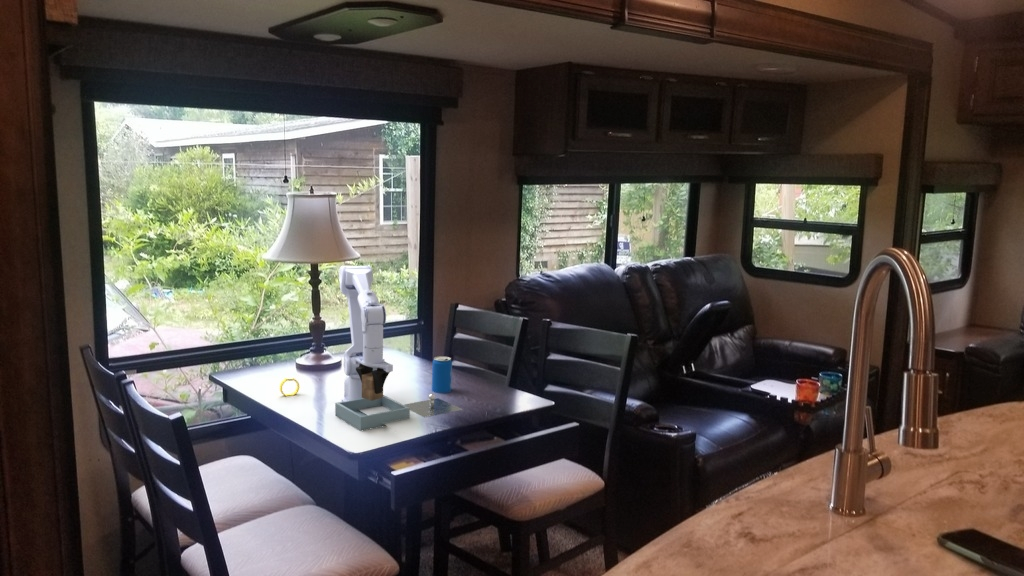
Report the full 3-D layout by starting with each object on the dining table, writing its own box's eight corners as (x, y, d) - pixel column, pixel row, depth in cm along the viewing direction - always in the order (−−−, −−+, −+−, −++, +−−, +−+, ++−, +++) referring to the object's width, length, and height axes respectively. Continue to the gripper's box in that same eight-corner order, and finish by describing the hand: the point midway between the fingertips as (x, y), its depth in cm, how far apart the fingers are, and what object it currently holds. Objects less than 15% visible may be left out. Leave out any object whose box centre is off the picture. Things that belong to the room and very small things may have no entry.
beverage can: (447, 396, 244) (448, 361, 242) (429, 394, 245) (430, 359, 243) (453, 391, 250) (454, 357, 248) (435, 389, 251) (436, 355, 250)
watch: (296, 393, 242) (298, 376, 241) (299, 396, 239) (300, 378, 239) (278, 394, 238) (279, 376, 238) (280, 397, 236) (282, 378, 235)
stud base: (400, 408, 230) (400, 391, 229) (438, 401, 238) (438, 385, 238) (424, 420, 219) (425, 403, 218) (463, 412, 228) (463, 396, 227)
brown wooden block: (361, 397, 218) (361, 374, 217) (372, 394, 221) (372, 371, 220) (372, 400, 215) (372, 377, 214) (383, 397, 219) (383, 374, 218)
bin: (335, 415, 220) (335, 402, 220) (382, 407, 230) (382, 394, 230) (360, 430, 208) (360, 417, 207) (409, 421, 218) (409, 408, 217)
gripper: (400, 348, 215) (399, 393, 217) (366, 340, 223) (365, 384, 225) (383, 352, 209) (382, 398, 211) (348, 344, 218) (347, 388, 219)
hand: (372, 391), depth 218 cm, fingers closed on brown wooden block, 4 cm apart
